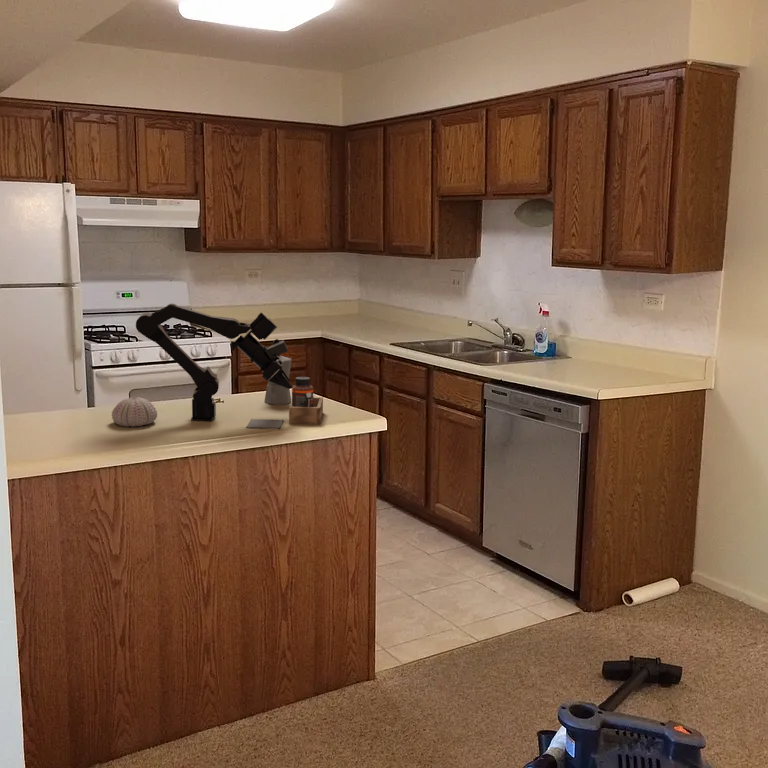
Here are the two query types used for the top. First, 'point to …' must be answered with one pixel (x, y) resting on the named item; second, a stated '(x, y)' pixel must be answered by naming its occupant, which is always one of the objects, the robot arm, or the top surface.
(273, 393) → the coffeepot
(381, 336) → the top surface
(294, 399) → the supplement bottle
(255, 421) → the mat
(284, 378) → the robot arm
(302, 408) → the crate
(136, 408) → the sea urchin shell
